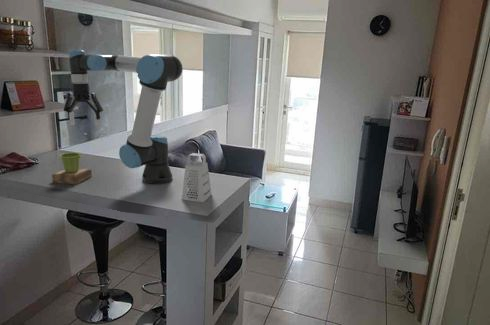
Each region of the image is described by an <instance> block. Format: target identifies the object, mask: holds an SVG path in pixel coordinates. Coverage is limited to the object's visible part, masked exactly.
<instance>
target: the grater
mask: <svg viewBox="0 0 490 325" xmlns="http://www.w3.org/2000/svg"><path fill="white" fill-rule="evenodd" d="M191 156H195V157H200V158H202V161H195V160H191V159H192V158H191ZM186 163H187V164H185V168H184V177H183V186H182V194H181V200H182V201H183V200H185V201H191V202H192V201H193V202H200V203H205V201H207V199H208V198H210V197H211V196H212V194H213V192H212V186H211V185H212V184H211V179H210V173H209V167H208V166H209V165H208V164H209V163H208V162H207V156H206V155H205V154H204V153H195V152H192V153H191V154H189V155H188V156H187V158H186Z"/></svg>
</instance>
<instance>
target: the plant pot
mask: <svg viewBox="0 0 490 325" xmlns="http://www.w3.org/2000/svg"><path fill="white" fill-rule="evenodd" d="M59 157H60V158H61V160H62V164H63V167H64V169H65V172H67V173H70V172H72V173H74V172H77V171H78V170H79V168H80V166H79V165H80V158H81V153H78V152H66V153H61V154H59Z"/></svg>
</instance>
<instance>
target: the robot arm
mask: <svg viewBox="0 0 490 325" xmlns="http://www.w3.org/2000/svg"><path fill="white" fill-rule="evenodd" d="M68 62H69V70H70V78H71V83H72V85H71V86H72V87H71V88H72V91H73V92H71V91H70V92H67V98H66V100H65V105H64V107H63V111H64V112H67V117H68V119H69V123H70V126H75V125H76V121H75V112H74V111H73V110H74V109H75V108H76V106H77V105H78V103H86V104H87V105H88V106H89V107H90V108H91V109H92V111H93V112H94V113H93V116H94V127H100V119H101V113H102V112H104V109H103V107H102V105H101V104H100V102H99V99H98V98H97V94H96V93H95V92H91V93H90V86H89V83H88V82H89V76H88V75H89V74H88V72H102V71H105V72H106V71H116V72H128V73H135V74H137V75H136V76H137V78H138V80H139V81H138V83H139V85H141V86H140V87H141V89H140V94H139V99H138V104H137V107H136V108H137V109H136V112H135V117H134V122H133V126H132V131H131V134H130V135H128V136H127V139H126V143H125V144H122V145H121V146H120V148H119V150H118V155H119V160H121V162H122V164H123V165H124V166H125V167H127V168H130V169H137V168H140V167H142V166H144V168H143V172H142V175H141V176H142V177H141V178H142V182H144V183H146V184H151V185H152V184H155V185H159V184H165V183H168V182H171V181H172V180H173V173H172V171H171V168H170V166H169V143H168V138H167V137H166V136H164V135H155V134H152V133H153V129H154V124H155V120H156V116H157V112H158V108H159V104H160V100H161V97H162V96H161V95H162V92H164V91H166V89H167V85H168V83H169V82H175V81H176V80H177V81H178V79H179V78H180V77H181V76H182V74H183V63H182V62H181V60H180V59H179V58H178V57H176V56H175V55H171V54H155V53H151V54H146V55H143V56H132V55H130V56H129V55H120V54H94V53H93V54H87V53H86V51H85V50H79V49H78V50H69V52H68ZM73 97H74V99H73Z"/></svg>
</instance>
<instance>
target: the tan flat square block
mask: <svg viewBox="0 0 490 325" xmlns="http://www.w3.org/2000/svg"><path fill="white" fill-rule="evenodd" d="M92 176H93V174H92V169H91V168H81V167H79V170H78V171H77V172H74V173H72V172H70V173H67V172H65V168H64V169H62V170H59V171H57V172H54V173H53V174H51V177H52V183H58V184H67V185H68V184H69V185H78V184H80V183H82V182H84V181H86V180H88V179H90V178H92Z"/></svg>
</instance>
